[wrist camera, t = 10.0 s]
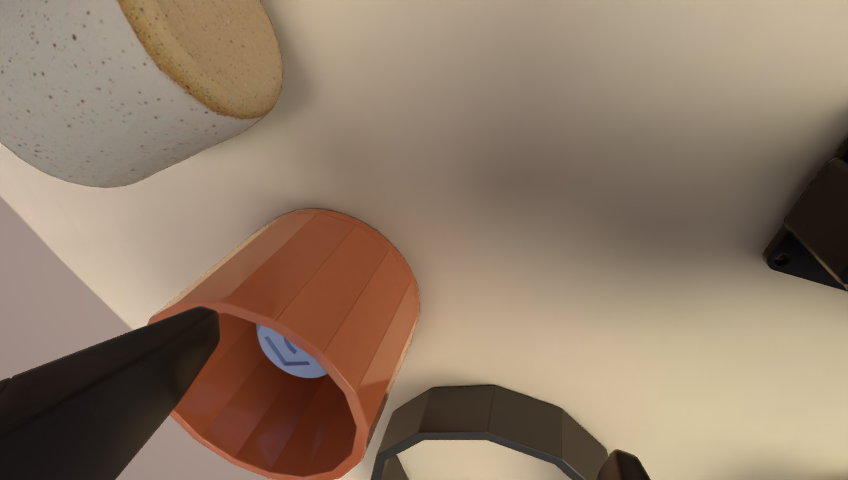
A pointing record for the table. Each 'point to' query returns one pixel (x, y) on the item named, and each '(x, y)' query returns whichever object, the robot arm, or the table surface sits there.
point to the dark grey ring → (490, 429)
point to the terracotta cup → (300, 345)
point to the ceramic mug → (131, 82)
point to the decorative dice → (288, 354)
